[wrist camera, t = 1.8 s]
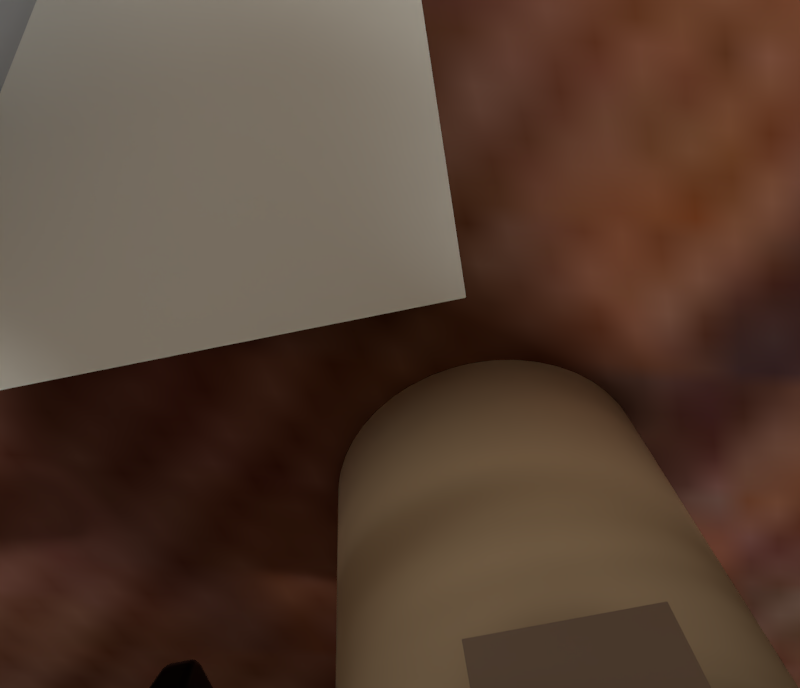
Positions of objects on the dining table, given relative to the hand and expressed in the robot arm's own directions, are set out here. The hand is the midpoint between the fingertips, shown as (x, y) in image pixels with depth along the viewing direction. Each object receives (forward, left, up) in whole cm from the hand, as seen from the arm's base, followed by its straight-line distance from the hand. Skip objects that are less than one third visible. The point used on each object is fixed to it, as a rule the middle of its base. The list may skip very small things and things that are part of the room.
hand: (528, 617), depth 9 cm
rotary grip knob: (0, 0, -2) cm, 2 cm away
